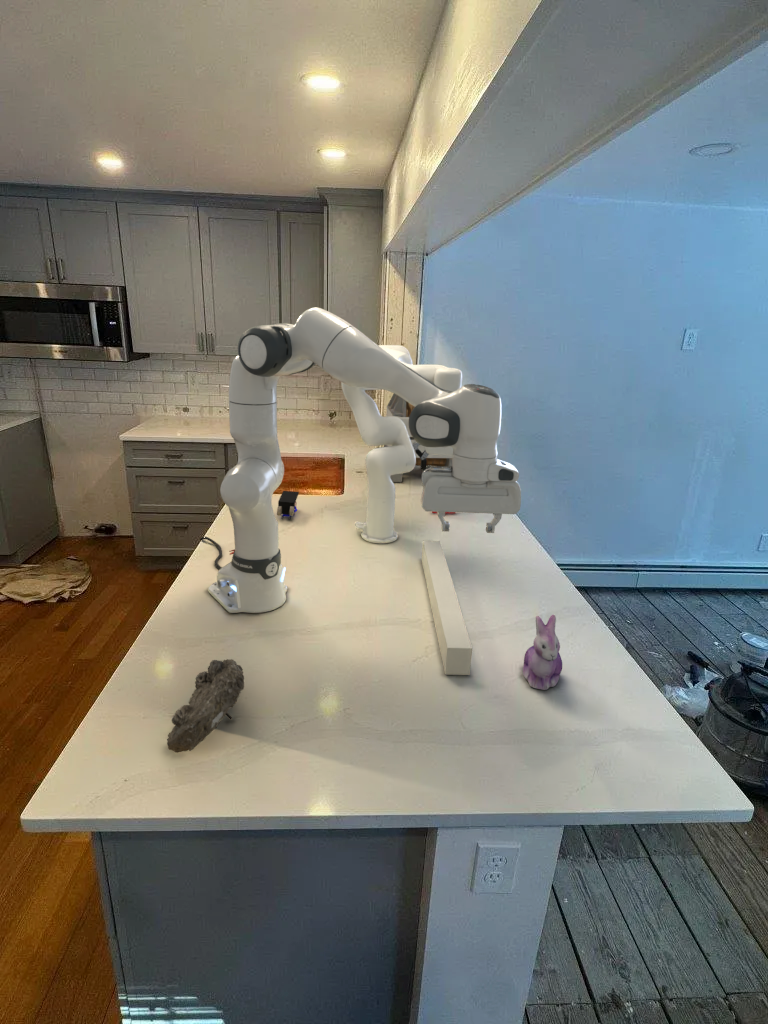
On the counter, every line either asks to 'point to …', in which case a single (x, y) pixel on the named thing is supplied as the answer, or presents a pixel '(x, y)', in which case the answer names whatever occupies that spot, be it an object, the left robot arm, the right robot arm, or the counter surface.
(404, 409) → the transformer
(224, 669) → the fossil
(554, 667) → the figurine
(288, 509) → the figurine character
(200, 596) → the counter surface
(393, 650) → the counter surface
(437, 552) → the beam
